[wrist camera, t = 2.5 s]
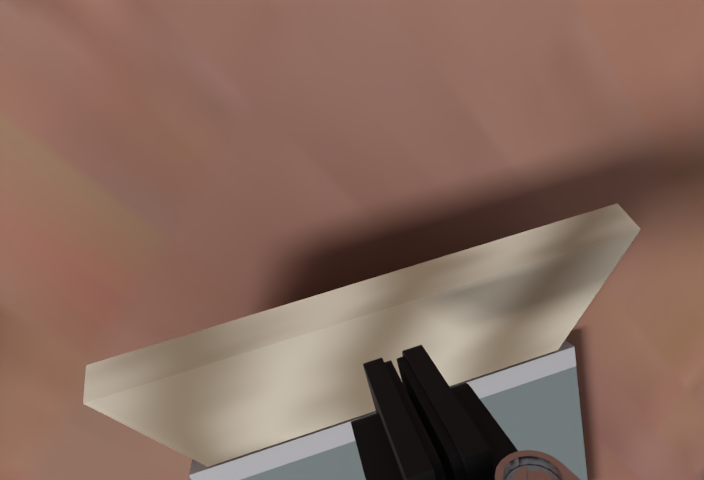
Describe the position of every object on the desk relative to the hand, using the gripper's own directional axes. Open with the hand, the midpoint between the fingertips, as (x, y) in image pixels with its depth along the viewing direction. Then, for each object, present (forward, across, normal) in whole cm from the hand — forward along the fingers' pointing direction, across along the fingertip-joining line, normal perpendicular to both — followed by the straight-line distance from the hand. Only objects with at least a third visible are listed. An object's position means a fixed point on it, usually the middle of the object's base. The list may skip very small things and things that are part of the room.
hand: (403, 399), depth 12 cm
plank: (+6, 0, +2) cm, 6 cm away
